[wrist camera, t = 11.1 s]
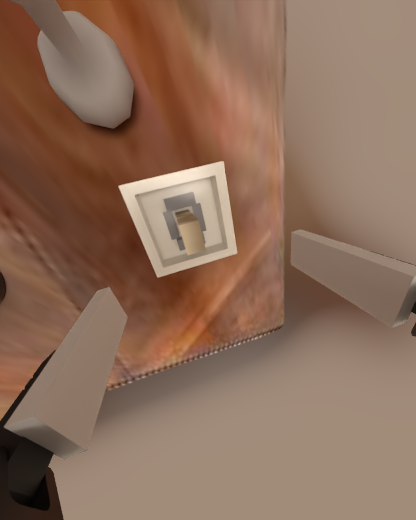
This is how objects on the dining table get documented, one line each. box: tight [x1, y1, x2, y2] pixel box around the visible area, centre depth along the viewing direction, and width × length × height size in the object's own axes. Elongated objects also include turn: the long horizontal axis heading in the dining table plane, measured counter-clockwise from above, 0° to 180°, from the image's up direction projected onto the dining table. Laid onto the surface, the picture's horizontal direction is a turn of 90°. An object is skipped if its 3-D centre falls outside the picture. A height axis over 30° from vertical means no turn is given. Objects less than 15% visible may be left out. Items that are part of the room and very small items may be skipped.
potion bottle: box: [9, 0, 134, 128], centre depth 14 cm, size 9×9×18 cm
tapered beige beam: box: [175, 209, 206, 255], centre depth 25 cm, size 2×4×11 cm, turn 13°
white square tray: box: [118, 161, 237, 278], centre depth 29 cm, size 16×16×4 cm
